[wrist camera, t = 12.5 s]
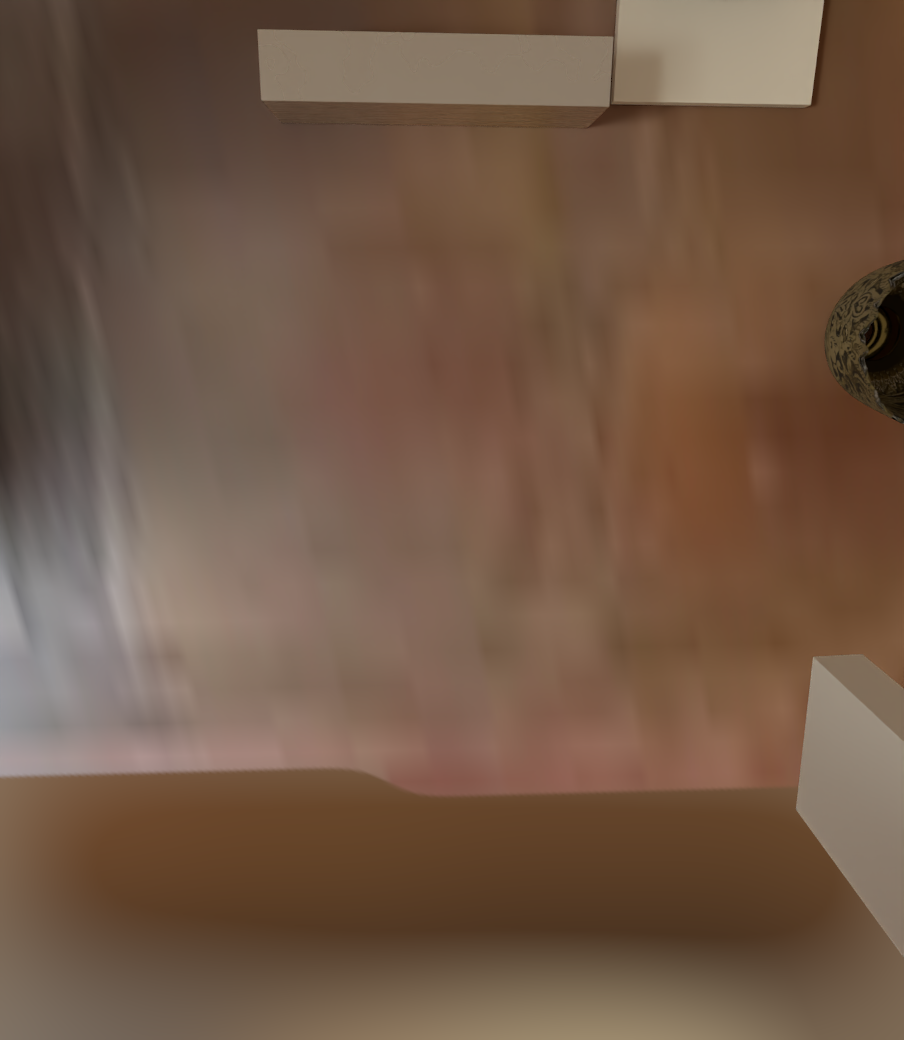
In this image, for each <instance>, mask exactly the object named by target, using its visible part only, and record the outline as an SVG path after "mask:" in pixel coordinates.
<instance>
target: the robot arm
mask: <svg viewBox="0 0 904 1040" xmlns="http://www.w3.org/2000/svg"><path fill="white" fill-rule="evenodd" d="M796 810H797V811H798V812H799V814H800V815H801V817H802V818H803V820H804V821H805V822H806V824H807V825H808V826H809V828H810V829H811V831H812V832H813V833H814V835H815V836H816V837H817V838H818V840H819V841H820V843H821V844H822V846H823V847H824V848H825V850H826V851H827V853H828V854H829V855H830V857H831V858H832V859H833V861H834V862H835V864H836V865H837V866H838V868H839V869H840V870H841V872H842V873H843V875H844V876H845V877H846V879H847V880H848V881H849V883H850V884H851V886H852V887H853V888H854V890H855V891H856V892H857V894H858V895H859V896H860V898H861V899H862V901H863V902H864V903H865V905H866V906H867V908H868V909H869V910H870V912H871V913H872V915H873V916H874V917H875V919H876V920H877V921H878V923H879V924H880V926H881V927H882V928H883V930H884V931H885V932H886V934H887V935H888V936H889V938H890V939H891V941H892V942H893V943H894V945H895V946H896V947H897V949H898V950H899V951H900V953H901V954H902V956H903V957H904V689H903V688H902V687H901V686H900V685H899V684H897V683H896V682H895V681H894V680H893V679H891V678H890V677H889V676H888V675H887V674H885V673H884V672H883V671H882V670H881V669H879V668H878V667H877V666H876V665H875V664H873V663H872V662H871V661H870V660H869V659H867V658H866V657H865V656H864V655H863V654H857V655H838V656H820V657H813V664H812V672H811V681H810V690H809V699H808V708H807V717H806V726H805V734H804V743H803V752H802V761H801V770H800V779H799V788H798V798H797V806H796Z"/></svg>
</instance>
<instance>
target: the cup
mask: <svg viewBox="0 0 904 1040" xmlns="http://www.w3.org/2000/svg"><path fill="white" fill-rule="evenodd" d="M871 324H873V334H872V337H871V339H870V340H869V342H868V343H867V344H866V338H865V336H864V334H865V333H866V332H867V331H868V329H869V327H870V325H871ZM825 354H826V359H827V362H828V365H829V368H830V370H831V372H832V374H833V376H834V377H835V379H836V380H837V382H838V383H839V384H840V385H841V386H842V387H843V388H844V389H845V390H846V391H847V392H848V393H849V394H850V395H852V396H853V397H854V398H856V399H857V400H859V401H860V402H862V403H864V404H865V405H867V406H869V407H871V408H872V409H874V410H876V411H878V412H880V413H882V414H884V415H886V416H888V417H890V418H892V419H894V420H896V421H898V422H900V423H903V424H904V260H902V261H899V262H895V263H893V264H890V265H887V266H885V267H882V268H880V269H878V270H876V271H874V272H872V273H870V274H868V275H867V276H865V277H863V278H862V279H860V280H859V281H858V282H856V283H855V284H854V285H853V286H852V287H851V288H850V289H849V290H848V291H847V292H846V293H845V294H844V295H843V296H842V298H841V299H840V300H839V302H838V303H837V305H836V306H835V308H834V310H833V311H832V314H831V316H830V318H829V321H828V324H827V328H826V333H825Z"/></svg>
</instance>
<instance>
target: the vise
mask: <svg viewBox="0 0 904 1040" xmlns="http://www.w3.org/2000/svg"><path fill="white" fill-rule="evenodd" d="M257 32H258V50H259V69H260V88H261V101H262V102H263V103H264V104H265V105H266V106H267V107H268V109H269V110H270V111H271V112H272V113H273V114H274V115H275V116H276V118H277V119H278V120H279V121H280V122H281V123H321V124H380V125H439V126H497V127H556V128H588V127H589V126H590V125H591V124H592V123H593V122H594V121H595V120H596V119H597V118H598V117H599V116H600V115H601V114H602V113H603V112H604V111H605V110H606V109H607V108H608V107H609V102H610V86H611V69H612V53H613V37H606V36H558V35H510V34H462V33H413V32H365V31H317V30H269V29H257Z"/></svg>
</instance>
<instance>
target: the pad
mask: <svg viewBox="0 0 904 1040" xmlns="http://www.w3.org/2000/svg"><path fill="white" fill-rule="evenodd" d="M823 5H824V0H617V8H616V24H615V41H614V57H613V73H612V90H611V104H622V105H677V106H733V107H788V108H805V107H807V106H810V105H811V100H812V92H813V84H814V76H815V68H816V60H817V52H818V45H819V37H820V29H821V21H822V13H823Z"/></svg>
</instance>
